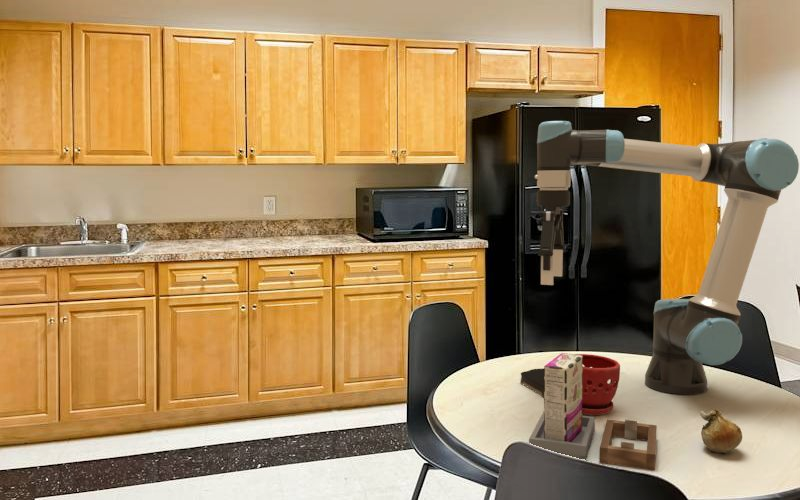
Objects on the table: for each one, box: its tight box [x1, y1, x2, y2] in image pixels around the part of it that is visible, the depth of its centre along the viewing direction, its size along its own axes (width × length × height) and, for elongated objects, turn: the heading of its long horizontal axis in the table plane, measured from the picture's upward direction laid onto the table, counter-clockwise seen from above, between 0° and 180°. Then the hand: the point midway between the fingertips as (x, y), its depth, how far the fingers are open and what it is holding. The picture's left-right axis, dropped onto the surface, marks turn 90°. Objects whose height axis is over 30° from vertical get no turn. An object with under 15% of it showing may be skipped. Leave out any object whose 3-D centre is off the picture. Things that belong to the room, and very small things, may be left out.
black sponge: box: [520, 367, 544, 398], centre depth 174 cm, size 16×8×4 cm, turn 18°
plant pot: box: [574, 353, 621, 416], centre depth 159 cm, size 13×13×12 cm
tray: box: [528, 411, 596, 461], centre depth 140 cm, size 11×17×3 cm, turn 158°
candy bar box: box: [543, 352, 583, 442], centre depth 139 cm, size 11×5×16 cm, turn 148°
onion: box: [699, 409, 743, 454], centre depth 134 cm, size 8×8×8 cm
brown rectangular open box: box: [598, 418, 658, 471], centre depth 135 cm, size 10×16×4 cm, turn 158°
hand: (551, 280), depth 158 cm, fingers open, 13 cm apart
